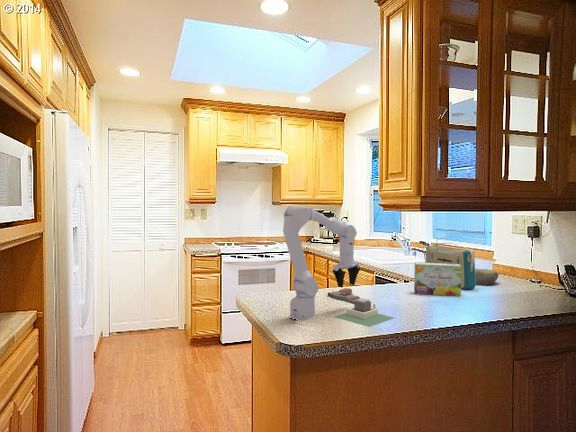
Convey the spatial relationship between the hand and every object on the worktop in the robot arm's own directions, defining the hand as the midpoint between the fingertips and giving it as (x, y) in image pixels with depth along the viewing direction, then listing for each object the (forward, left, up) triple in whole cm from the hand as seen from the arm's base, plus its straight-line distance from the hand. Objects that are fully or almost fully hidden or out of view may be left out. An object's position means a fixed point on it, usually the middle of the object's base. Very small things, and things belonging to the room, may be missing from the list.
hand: (346, 285), depth 168 cm
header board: (-5, -13, -10) cm, 17 cm away
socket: (-3, -10, -9) cm, 14 cm away
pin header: (+2, -11, -9) cm, 14 cm away
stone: (+99, -16, -11) cm, 101 cm away
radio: (+81, -4, -11) cm, 82 cm away
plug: (-3, -11, -9) cm, 15 cm away
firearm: (+18, +9, -11) cm, 23 cm away
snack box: (+56, -11, -11) cm, 58 cm away
